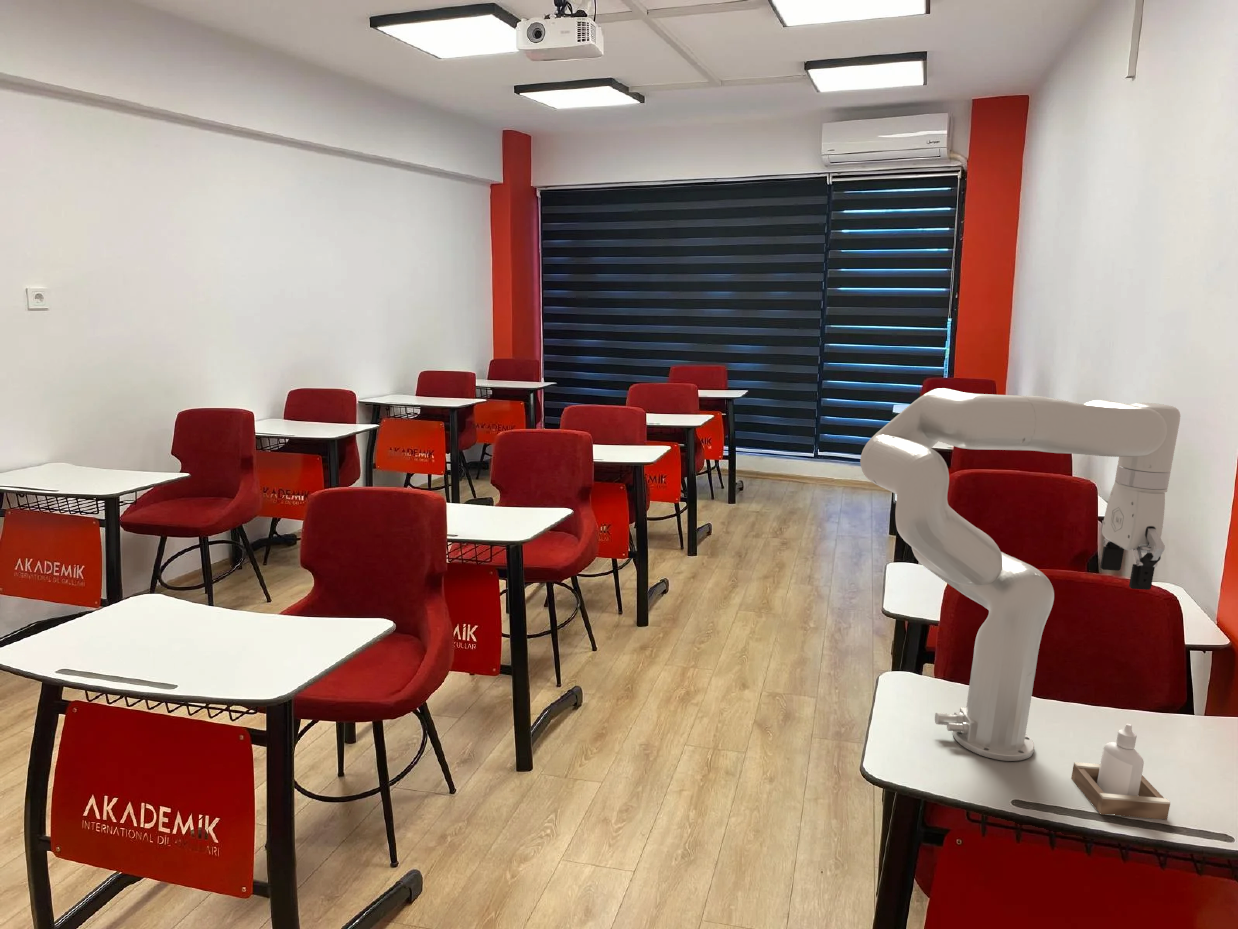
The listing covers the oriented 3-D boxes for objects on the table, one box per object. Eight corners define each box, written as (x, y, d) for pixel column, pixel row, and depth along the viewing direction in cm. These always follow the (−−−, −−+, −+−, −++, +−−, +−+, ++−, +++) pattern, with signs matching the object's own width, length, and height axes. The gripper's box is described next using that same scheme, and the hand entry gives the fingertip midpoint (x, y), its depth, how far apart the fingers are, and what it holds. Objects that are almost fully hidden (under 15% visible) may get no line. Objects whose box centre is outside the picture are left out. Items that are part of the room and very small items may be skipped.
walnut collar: (1100, 814, 127) (1103, 797, 126) (1071, 778, 136) (1073, 762, 136) (1167, 819, 126) (1170, 802, 126) (1133, 783, 136) (1136, 767, 135)
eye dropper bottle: (1107, 806, 129) (1121, 732, 127) (1093, 785, 135) (1106, 714, 132) (1139, 810, 129) (1153, 735, 126) (1123, 789, 134) (1136, 717, 132)
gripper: (1093, 467, 151) (1078, 561, 154) (1146, 489, 134) (1127, 595, 137) (1138, 469, 150) (1121, 564, 154) (1196, 492, 133) (1176, 598, 137)
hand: (1124, 578), depth 145 cm, fingers open, 9 cm apart
